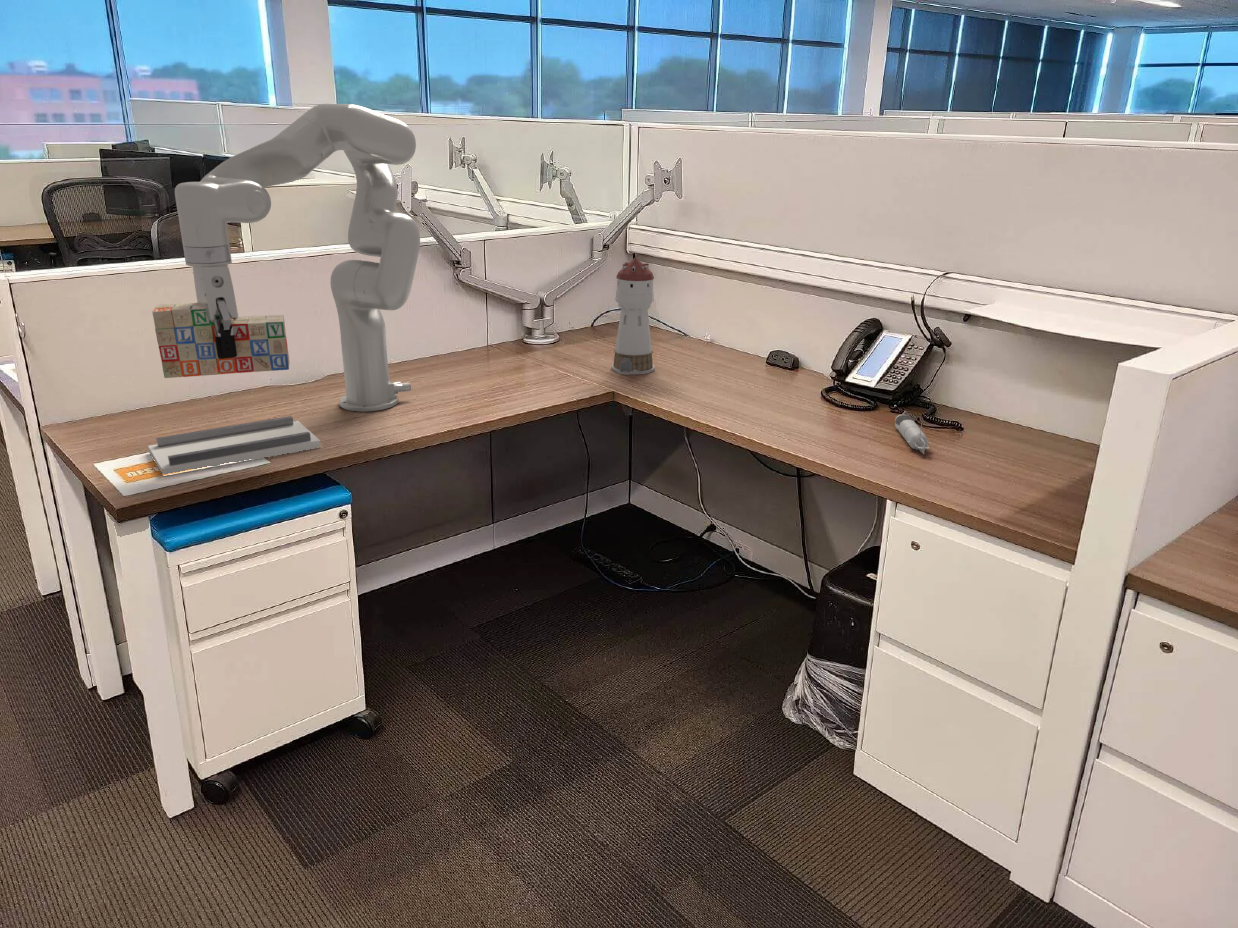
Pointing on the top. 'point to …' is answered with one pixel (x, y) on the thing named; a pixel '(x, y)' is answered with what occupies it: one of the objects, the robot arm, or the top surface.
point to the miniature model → (634, 319)
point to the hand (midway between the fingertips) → (222, 352)
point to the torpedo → (911, 433)
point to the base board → (231, 444)
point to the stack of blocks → (194, 347)
